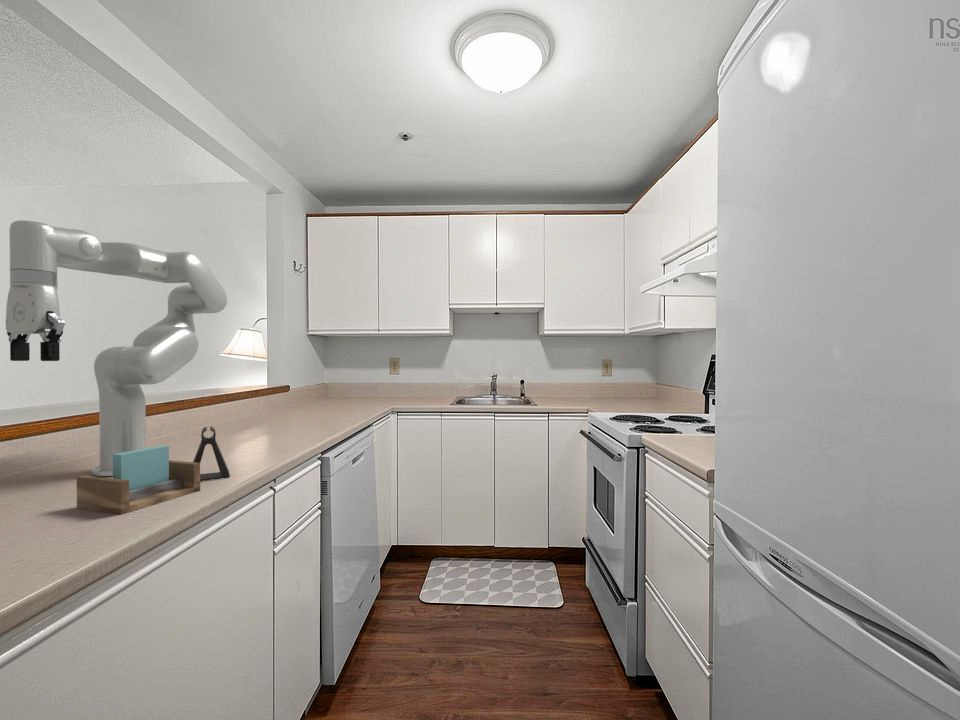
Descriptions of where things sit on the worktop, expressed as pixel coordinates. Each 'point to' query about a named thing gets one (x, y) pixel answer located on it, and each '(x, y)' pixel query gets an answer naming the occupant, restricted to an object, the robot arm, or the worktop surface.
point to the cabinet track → (136, 490)
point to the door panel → (142, 466)
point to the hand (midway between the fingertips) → (34, 360)
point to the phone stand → (219, 458)
